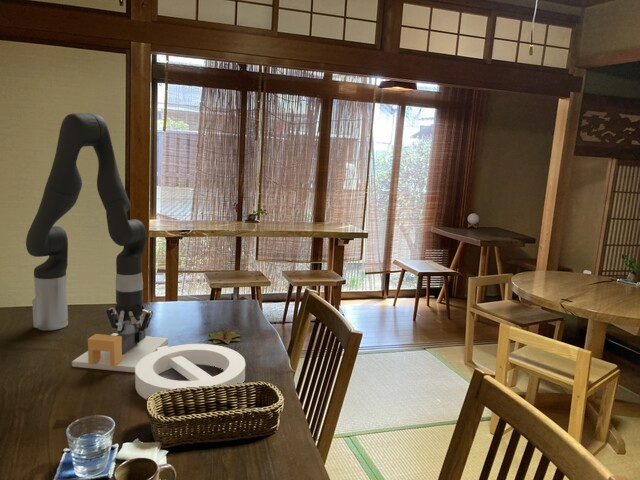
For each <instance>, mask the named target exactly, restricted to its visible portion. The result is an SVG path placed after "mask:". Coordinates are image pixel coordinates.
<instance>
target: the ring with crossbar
mask: <svg viewBox="0 0 640 480" xmlns="http://www.w3.org/2000/svg"><path fill="white" fill-rule="evenodd" d="M197 365H201V366H202V365H203V366H211V367H214V366H215V368H218V369H220V368H221V370H222V369H223V370H222V372H220V373H219V374H217V375H214V376H212V375H210V374H209V373H208V372H207V371H205V370H203V369H202V368H200V367H199V366H197ZM170 369H174V370H175V371H176V372H178V373H179V374H180V375H182V376H183V377H184V378H186V379H187V380H175V379H169V378H166V377H164V376H161V375H160V374H162V373H163V372H164V371H167V370H170ZM134 376H135V377H134V379H135V383H134V386H135V387H134V388H135V390H136V392H137V394H138V395H139V396H140V397H142V398H143V399H145V400H147V398H148V397H149V396H151V395H152V394H154V393H156V392H160V391H164V390H169V389H176V388H186V387H199V386H213V385H227V384H237V383H243V382H244V381H245V380H246V359H245V357H244V356H242V354H241V353H239V351H236V350H234V349H231V348H229V347H226V346H221V345H216V344H210V343H208V344H207V343H187V344H177V345H173V346H168V345H165V346H163V347H159V348H156V351H155V352H152V353H150V354H148V355H146V356H145V357H143V358H142V359H141V360H140V361H139V362H138V363H137V365H136V367H135V372H134ZM245 382H246V381H245ZM245 382H244V383H245ZM147 401H148V400H147Z"/></svg>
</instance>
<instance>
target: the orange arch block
mask: <svg viewBox="0 0 640 480" xmlns="http://www.w3.org/2000/svg"><path fill="white" fill-rule="evenodd" d="M87 351H88V363H89V364H94V363H95V362H96V361H98V360H99V359H100V358H101V351H108V352H110V366H115V365H117V364H118V363H119V362H120V361H122V336H115V335H112V334H100V333H95V334H94V335H92V336H90V337H89V338H87Z"/></svg>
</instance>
